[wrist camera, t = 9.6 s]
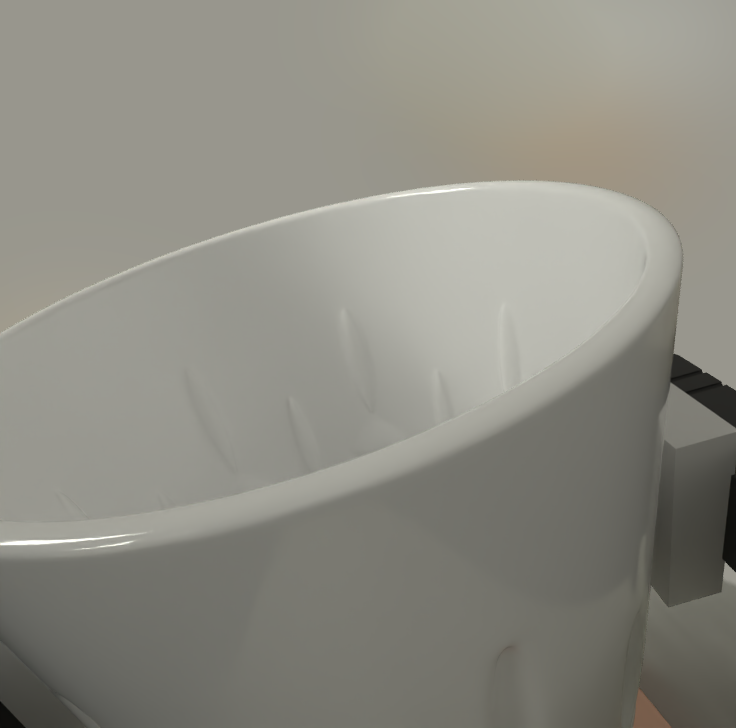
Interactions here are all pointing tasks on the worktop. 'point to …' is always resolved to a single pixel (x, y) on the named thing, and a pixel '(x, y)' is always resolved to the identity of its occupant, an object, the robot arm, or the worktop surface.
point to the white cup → (349, 468)
